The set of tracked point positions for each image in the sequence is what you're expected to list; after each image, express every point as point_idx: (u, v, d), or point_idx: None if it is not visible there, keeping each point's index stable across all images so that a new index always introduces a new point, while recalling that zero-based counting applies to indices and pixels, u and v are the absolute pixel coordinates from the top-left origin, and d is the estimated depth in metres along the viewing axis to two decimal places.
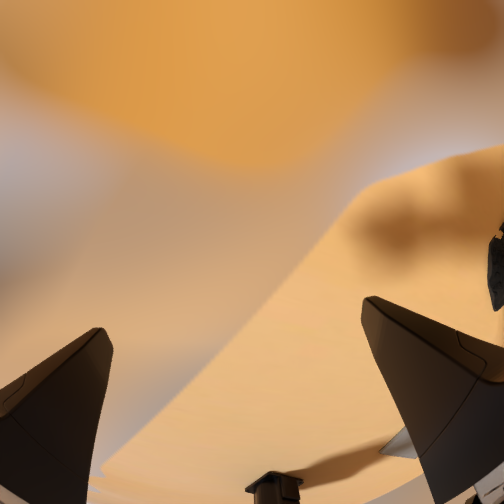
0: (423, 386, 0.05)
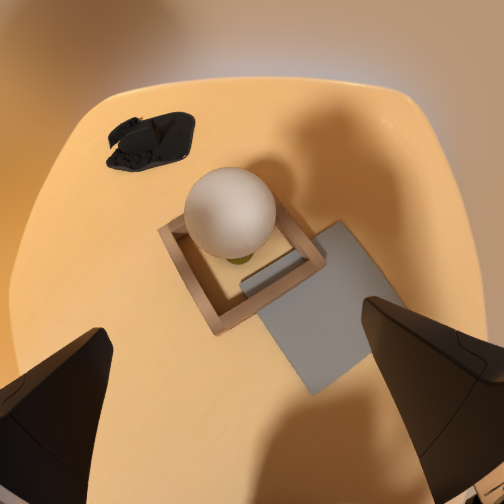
0: (423, 386, 0.05)
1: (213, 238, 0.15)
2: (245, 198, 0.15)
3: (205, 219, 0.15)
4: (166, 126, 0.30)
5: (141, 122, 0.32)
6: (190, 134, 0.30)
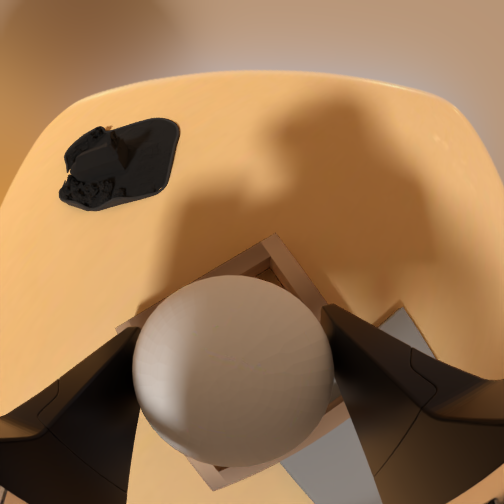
0: (371, 405, 0.05)
1: (200, 461, 0.05)
2: (277, 410, 0.05)
3: (177, 440, 0.05)
4: (138, 139, 0.21)
5: (108, 133, 0.22)
6: (171, 152, 0.20)
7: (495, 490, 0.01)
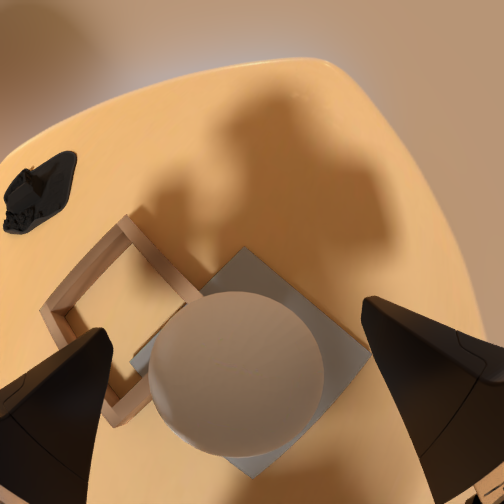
0: (423, 386, 0.05)
1: None
2: (272, 407, 0.06)
3: (189, 434, 0.06)
4: (49, 172, 0.23)
5: (32, 172, 0.24)
6: (70, 176, 0.22)
7: None
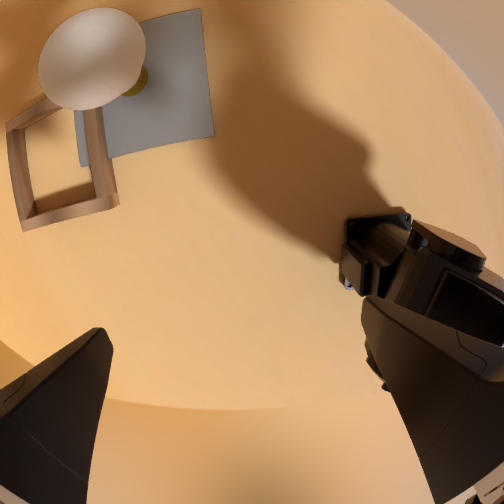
0: (423, 386, 0.05)
1: (99, 82, 0.08)
2: (89, 27, 0.06)
3: (75, 78, 0.08)
4: None
5: None
6: None
7: None
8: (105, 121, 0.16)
